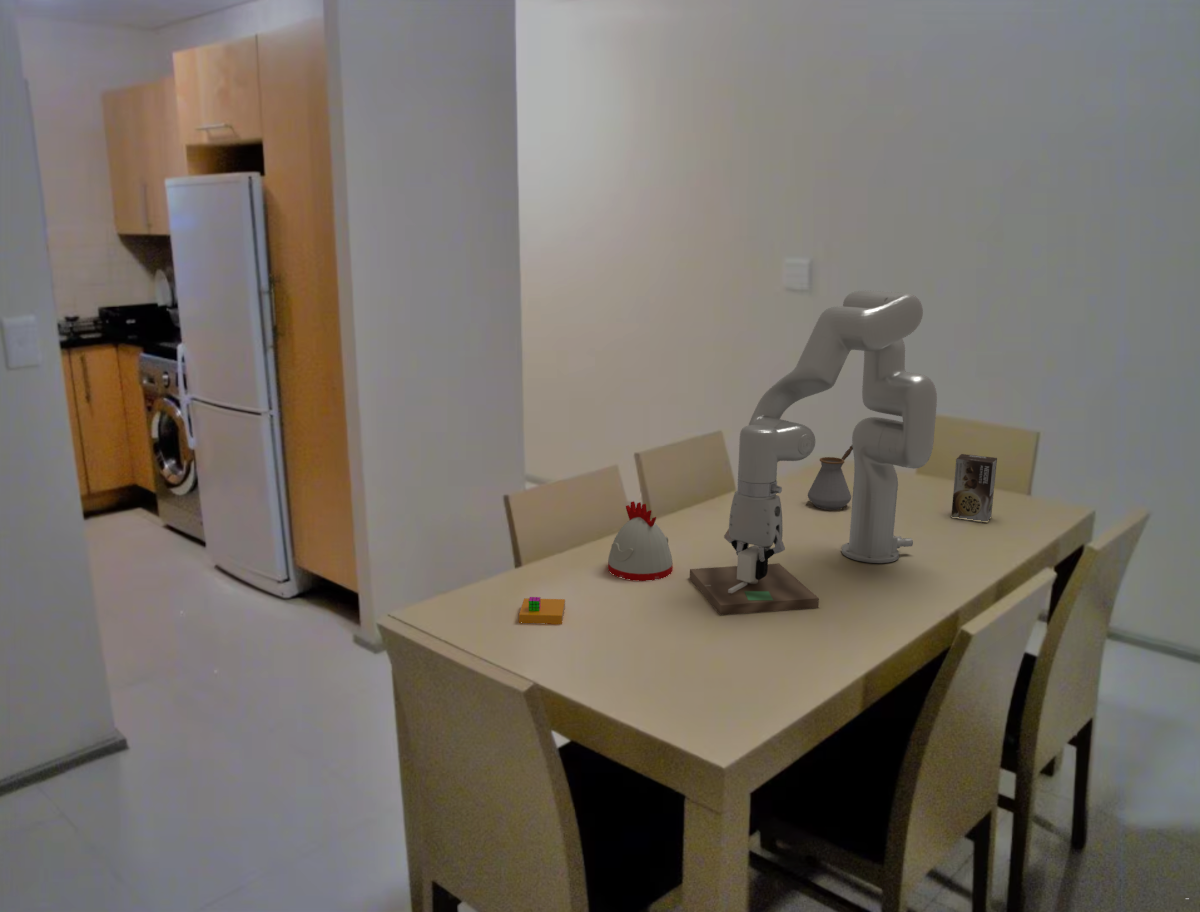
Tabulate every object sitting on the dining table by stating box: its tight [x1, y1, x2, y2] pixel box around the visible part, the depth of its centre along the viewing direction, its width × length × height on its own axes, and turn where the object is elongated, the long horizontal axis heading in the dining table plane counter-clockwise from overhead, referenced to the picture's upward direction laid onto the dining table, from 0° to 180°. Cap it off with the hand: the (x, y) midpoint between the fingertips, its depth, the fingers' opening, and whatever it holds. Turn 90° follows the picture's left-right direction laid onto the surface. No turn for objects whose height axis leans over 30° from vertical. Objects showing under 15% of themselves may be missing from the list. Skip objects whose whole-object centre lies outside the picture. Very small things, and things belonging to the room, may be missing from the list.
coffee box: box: [950, 453, 998, 521], centre depth 236 cm, size 9×6×16 cm
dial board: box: [689, 563, 820, 616], centre depth 185 cm, size 20×20×2 cm
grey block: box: [728, 545, 759, 593], centre depth 182 cm, size 12×3×7 cm, turn 141°
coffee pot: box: [807, 445, 853, 511], centre depth 249 cm, size 21×12×15 cm, turn 141°
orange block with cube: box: [518, 596, 566, 625], centre depth 173 cm, size 8×8×4 cm
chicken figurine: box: [607, 500, 673, 582], centre depth 196 cm, size 14×14×15 cm
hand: (752, 574), depth 185 cm, fingers closed on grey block, 3 cm apart
